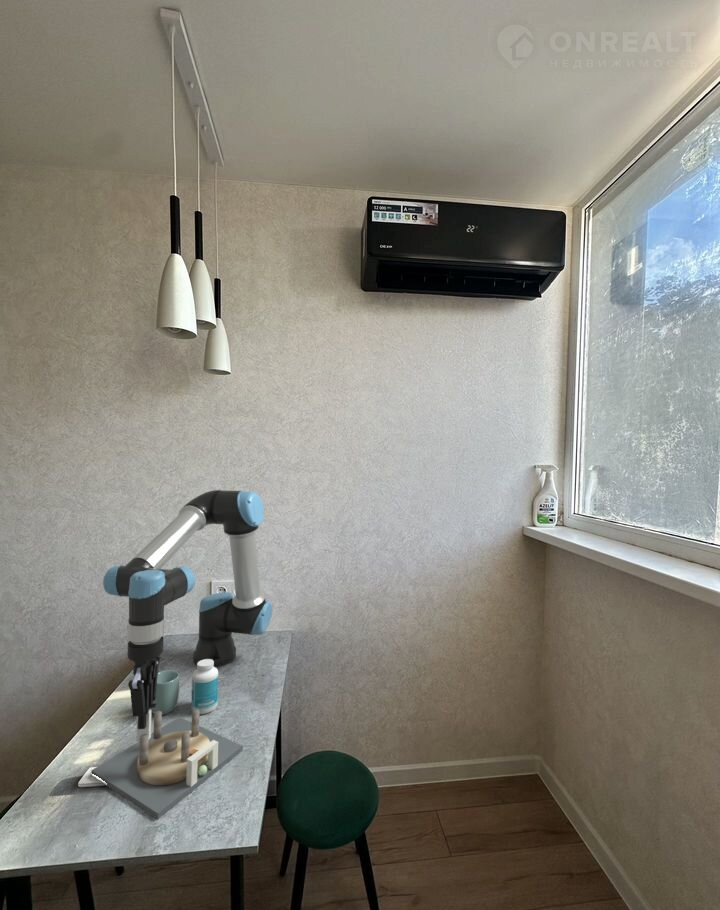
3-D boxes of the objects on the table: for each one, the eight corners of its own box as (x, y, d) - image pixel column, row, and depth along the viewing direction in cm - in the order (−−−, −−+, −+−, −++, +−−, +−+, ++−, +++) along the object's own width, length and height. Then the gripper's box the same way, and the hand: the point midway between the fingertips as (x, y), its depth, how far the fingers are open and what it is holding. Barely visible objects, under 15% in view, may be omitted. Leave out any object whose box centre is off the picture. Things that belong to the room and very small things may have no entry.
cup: (167, 720, 120) (168, 685, 120) (142, 716, 122) (143, 681, 122) (183, 705, 128) (184, 671, 128) (160, 701, 129) (161, 668, 129)
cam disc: (122, 760, 102) (123, 727, 102) (184, 728, 114) (185, 698, 115) (158, 796, 91) (159, 759, 91) (223, 756, 104) (224, 723, 104)
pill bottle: (223, 706, 128) (224, 660, 128) (202, 718, 121) (203, 670, 121) (206, 698, 131) (207, 654, 132) (185, 710, 125) (186, 664, 125)
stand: (179, 721, 120) (179, 696, 120) (243, 750, 108) (243, 723, 108) (91, 775, 99) (92, 746, 99) (158, 819, 87) (159, 786, 87)
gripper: (140, 627, 106) (138, 722, 106) (116, 651, 93) (114, 759, 93) (171, 627, 107) (169, 721, 107) (152, 650, 94) (149, 757, 94)
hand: (143, 738), depth 100 cm, fingers closed
